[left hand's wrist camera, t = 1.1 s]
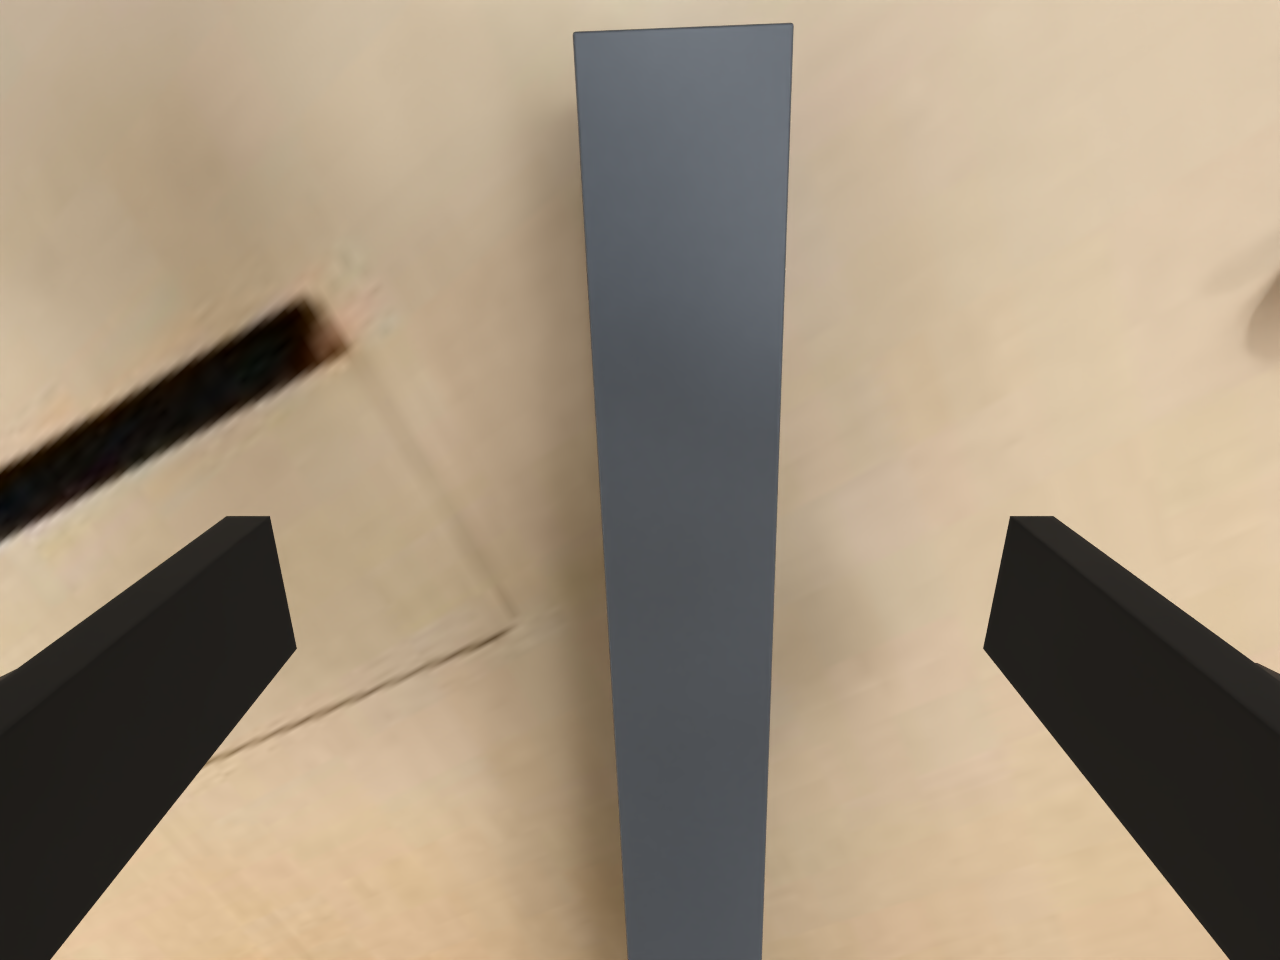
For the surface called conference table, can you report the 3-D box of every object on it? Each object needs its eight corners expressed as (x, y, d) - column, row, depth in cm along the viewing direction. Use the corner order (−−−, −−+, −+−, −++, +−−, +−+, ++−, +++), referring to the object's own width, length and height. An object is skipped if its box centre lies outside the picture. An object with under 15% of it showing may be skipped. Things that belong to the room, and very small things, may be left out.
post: (594, 95, 24) (572, 31, 16) (742, 88, 24) (794, 22, 16) (652, 1215, 46) (655, 1418, 38) (728, 1213, 46) (746, 1417, 38)
